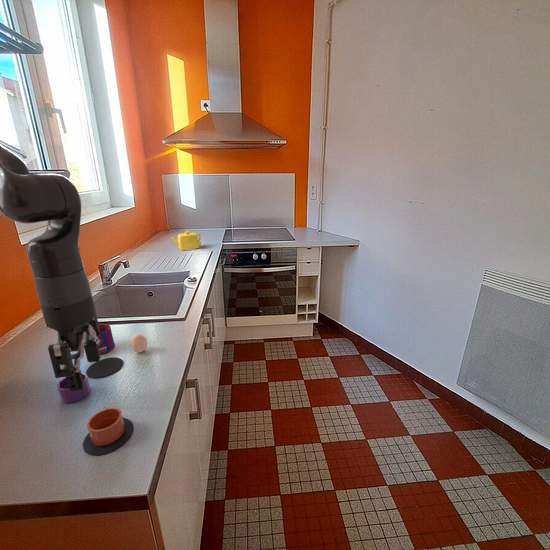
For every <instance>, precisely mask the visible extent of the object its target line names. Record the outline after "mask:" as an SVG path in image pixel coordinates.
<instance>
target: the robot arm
mask: <svg viewBox="0 0 550 550" xmlns="http://www.w3.org/2000/svg"><path fill="white" fill-rule="evenodd" d="M0 214H2V215H3V216H4V217H5V218H7V219H9V220H11V221H13V222H16V223H20V224H29V225H30V224H36V223H42V222H46V223H47V224H46V228H45V230H44V232H43V233H42V234H40V235H38V236H35V237H33V238H31V239H30V240H29V241H27V243H26V245H25V249H26V255H27V258H28V261H29V264H30V267H31V268H30V269H31V271H32V274H33V279H34V288H35V292H36V296H37V299H38V302H39V306H40V309H41V313H42V316H43V319H44V323H45V325H46V327H47V328H49V329H51V330H54V331H56V332H57V341H58V342H57V343H54V344H53V343H51V344H49V345H48V346H47V348H48V349H47V350H48V355H49V359H50V363H51V366H52V370H53V374H54V377H55V379H60V378H65V377H66V380H67V383H68V386H69V390H71V391H76V390H82V389H83V387H84V386H85V385H84V381H83V377H82V373H83V372H82V370H81V359H83V358H84V356H85V355H86V360H87V362H88V363H95V362H97V361H99V360H101V357H102V356H101V355H100V353H99V349H98V345H97V343H98V341H99V340H98V337H97V336H100V335H101V331H100V327H99V324H98V323H99V320H98V316H97V312H96V307H95V302H94V298H93V293H92V289H91V284H90V280H89V277H88V275H87V272H86V269H85V266H84V261H83V258H82V254H81V250H80V234H81V220H82V199H81V196H80V193H79V191H78V189H77V187H76V185H75V184H74V183H73V182H72V180H70V179H69V178H67V176H64V175H62V174H57V173H34V174H30V170H29V167H28V165H27V164H26V162H25V161H24V160H23V159H21V157H19V156H18V155H17V154H15V153H14V152H13V151H11V150H9V149H8V148H6V147H5V146H3V145H2V144H0ZM92 327H94V328H95V331H94V330H93V329H92ZM73 352H76V353H73Z"/></svg>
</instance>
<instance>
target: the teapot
mask: <svg viewBox="0 0 550 550" xmlns="http://www.w3.org/2000/svg"><path fill="white" fill-rule="evenodd" d="M170 239H171V240H172V242H174V244H175V245H177V247H178V250H179V251H181V250H186V251H189V250H188V249H194V250H198V249H197V248H199V249H200V246H201V245H202V242H201V239H202V236H201V234H199V233H195V232H190V231H189V230H187V231H184V233H178V234H177V239H176V238H175V237H174V236H172V237H171V238H170Z"/></svg>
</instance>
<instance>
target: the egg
mask: <svg viewBox="0 0 550 550" xmlns="http://www.w3.org/2000/svg"><path fill="white" fill-rule="evenodd" d="M147 347H148V341H147V338H146V337H145V336H144V335H143V334H140V333H137V334H135V335H133V337H132V338H131V340H130V348H131V350H132V351H133V352H134V353H136V354H137V353H138V354H139V353H143V352H144V351H145V350H146V349H147Z"/></svg>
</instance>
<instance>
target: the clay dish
mask: <svg viewBox="0 0 550 550" xmlns="http://www.w3.org/2000/svg"><path fill="white" fill-rule="evenodd" d="M123 418H124V416H123V412H122V410H121V409H119V408H118V407H108V408H104V409H102V410H99V411H98V412H96V413H95V414H93V415H92V416H91V417H90V418H89V420H88V422H87V424H86V426H87V431H88V433H89V434H90V438H91V441H92V443H93V444H94V445H97V446H104V445H108V444H111V443H113V442H114V441H116V440H117V439H118V438H120V436H121V435H122V434H123V433H124V430H125V424H124V420H123Z"/></svg>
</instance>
